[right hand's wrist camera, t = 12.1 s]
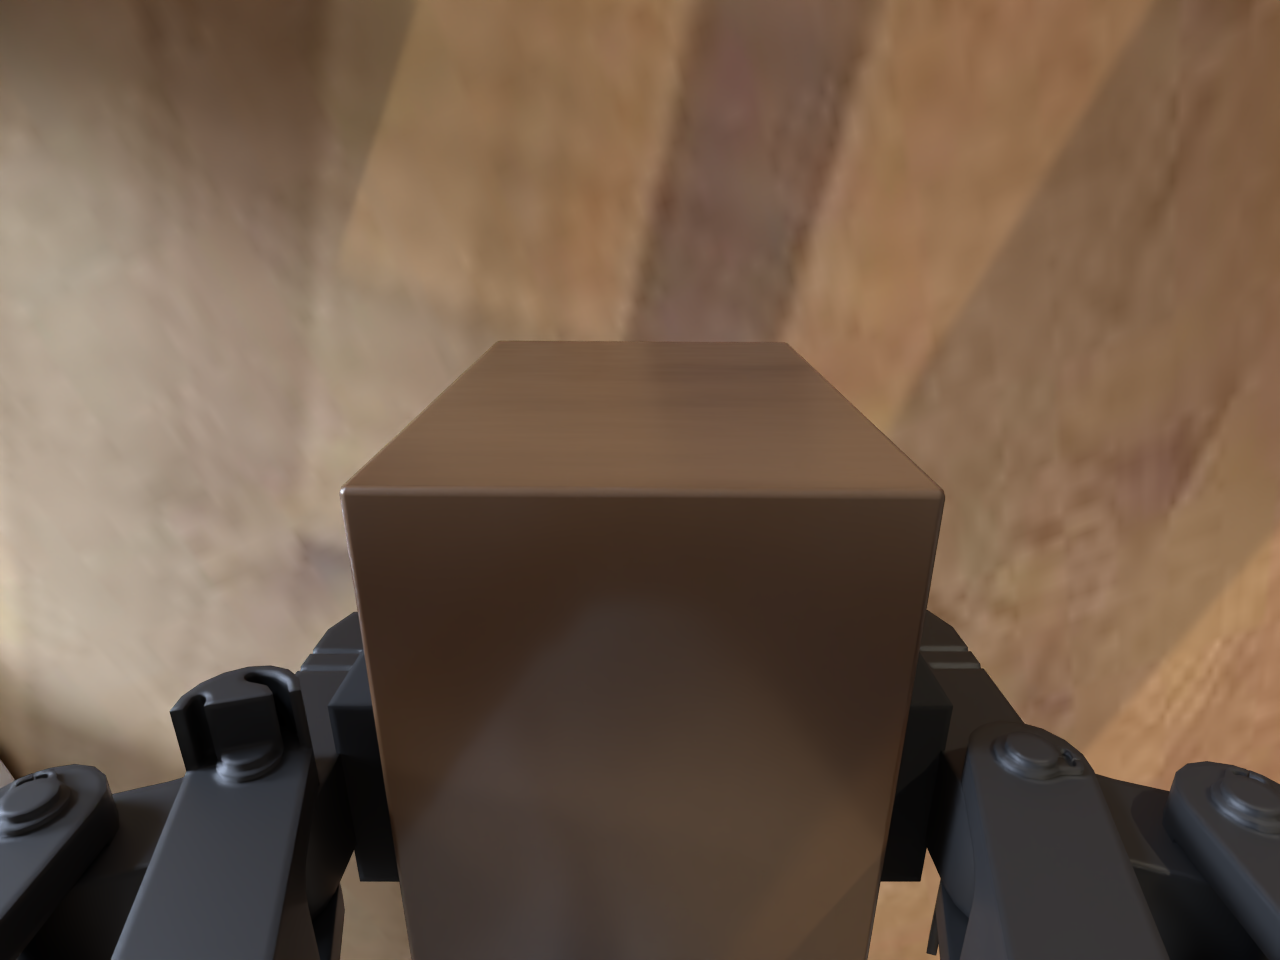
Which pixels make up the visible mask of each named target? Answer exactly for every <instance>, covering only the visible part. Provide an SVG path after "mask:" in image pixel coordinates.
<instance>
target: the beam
mask: <svg viewBox="0 0 1280 960" xmlns="http://www.w3.org/2000/svg"><path fill="white" fill-rule="evenodd" d="M340 500H341V506H342V513H343V519H344V525H345V532H346V538H347V545H348V551H349V558H350V564H351V571H352V577H353V584H354V590H355V597H356V603H357V610H358V616H359V623H360V629H361V635H362V642H363V648H364V655H365V661H366V668H367V674H368V681H369V687H370V694H371V700H372V707H373V713H374V720H375V726H376V733H377V739H378V745H379V752H380V758H381V765H382V771H383V778H384V784H385V791H386V797H387V804H388V810H389V817H390V823H391V830H392V836H393V842H394V849H395V855H396V862H397V868H398V875H399V881H400V888H401V894H402V901H403V907H404V914H405V920H406V927H407V933H408V940H409V946H410V952H411V959H412V960H867V958H868V952H869V946H870V940H871V935H872V929H873V923H874V917H875V911H876V905H877V899H878V893H879V887H880V881H881V875H882V869H883V863H884V857H885V852H886V846H887V840H888V834H889V828H890V822H891V816H892V810H893V804H894V798H895V792H896V786H897V780H898V774H899V769H900V763H901V757H902V751H903V745H904V739H905V733H906V727H907V721H908V715H909V709H910V703H911V697H912V691H913V685H914V680H915V674H916V668H917V662H918V656H919V650H920V644H921V638H922V632H923V626H924V620H925V614H926V608H927V602H928V597H929V591H930V585H931V579H932V573H933V567H934V561H935V555H936V549H937V543H938V537H939V531H940V525H941V519H942V514H943V508H944V502H945V494H944V491H943V489H941V488H940V487H939V486H938V485H937V484H936V483H935V482H934V481H933V480H932V479H931V478H930V477H929V476H928V475H927V474H926V473H924V472H923V471H922V470H921V469H920V468H919V467H918V466H917V465H916V464H915V463H914V462H913V461H912V460H911V459H910V458H909V457H908V456H906V455H905V454H904V453H903V452H902V451H901V450H900V449H899V448H898V447H897V446H896V445H895V444H894V443H893V442H892V441H891V440H889V439H888V438H887V437H886V436H885V435H884V434H883V433H882V432H881V431H880V430H879V429H878V428H877V427H876V426H875V425H874V424H872V423H871V422H870V421H869V420H868V419H867V418H866V417H865V416H864V415H863V414H862V413H861V412H860V411H859V410H858V409H857V408H855V407H854V406H853V405H852V404H851V403H850V402H849V401H848V400H847V399H846V398H845V397H844V396H843V395H842V394H841V393H840V392H839V391H837V390H836V389H835V388H834V387H833V386H832V385H831V384H830V383H829V382H828V381H827V380H826V379H825V378H824V377H823V376H822V375H820V374H819V373H818V372H817V371H816V370H815V369H814V368H813V367H812V366H811V365H810V364H809V363H808V362H807V361H806V360H805V359H803V358H802V357H801V356H800V355H799V354H798V353H797V352H796V351H795V350H794V349H793V348H792V347H791V346H790V345H789V344H787V343H777V342H600V341H498V342H496V343H495V344H494V345H493V346H492V347H491V348H490V349H489V350H488V351H486V352H485V353H484V354H483V355H482V356H481V357H480V358H479V359H478V360H477V361H476V362H475V363H474V364H473V365H471V366H470V367H469V368H468V369H467V370H466V371H465V372H464V373H463V374H462V375H461V376H460V377H459V378H458V379H456V380H455V381H454V382H453V383H452V384H451V385H450V386H449V387H448V388H447V389H446V390H445V391H444V392H443V393H441V394H440V395H439V396H438V397H437V398H436V399H435V400H434V401H433V402H432V403H431V404H430V405H429V406H428V407H426V408H425V409H424V410H423V411H422V412H421V413H420V414H419V415H418V416H417V417H416V418H415V419H414V420H413V421H411V422H410V423H409V424H408V425H407V426H406V427H405V428H404V429H403V430H402V431H401V432H400V433H399V434H398V435H396V436H395V437H394V438H393V439H392V440H391V441H390V442H389V443H388V444H387V445H386V446H385V447H384V448H383V449H381V450H380V451H379V452H378V453H377V454H376V455H375V456H374V457H373V458H372V459H371V460H370V461H369V462H368V463H366V464H365V465H364V466H363V467H362V468H361V469H360V470H359V471H358V472H357V473H356V474H355V475H354V476H353V477H352V478H350V479H349V480H348V481H347V482H346V483H345V484H344V485H343V486H342V487H341V490H340Z"/></svg>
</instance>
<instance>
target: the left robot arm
mask: <svg viewBox="0 0 1280 960" xmlns="http://www.w3.org/2000/svg"><path fill="white" fill-rule="evenodd" d="M13 781H15V780H14V778H13V777H12V775H11V774H10V772H9V771H8V769H7V768H6V767H5V765H4V764H3V763H2V761H1V760H0V788H2V787H4V786H6V785H8V784H10V783H12V782H13Z"/></svg>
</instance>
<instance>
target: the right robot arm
mask: <svg viewBox="0 0 1280 960" xmlns="http://www.w3.org/2000/svg"><path fill="white" fill-rule="evenodd" d="M170 715H171V718H172V722H173V725H174V729H175V732H176V736H177V740H178V743H179V747H180V750H181V754H182V757H183V761H184V764H185V768H186V774H185V776H184V777H183V778H180V779H176V780H173V781H169V782H165V783H160V784H156V785H151V786H147V787H142V788H138V789H133V790H129V791H124V792H120V793H115V794H112V793H111V790H110V787H109V784H108V781H107V778H106V775H105V774H103V773H102V772H101V771H99V770H98V769H97V768H96V767H93V766H85V765H77V764H73V765H66V766H60V767H53V768H48V769H45V770H42V771H38V772H36V773H33V774H29V775H27V776H24V777H21V778H19V779H17V780H15V781H13V782H12V783H10V784H8V785H6V786H4V787H2V788H0V960H340V953H341V943H342V932H343V922H344V912H345V908H344V902H343V895H342V890H341V885H340V880H341V878H342V876H343V874H344V871H345V869H346V867H347V865H348V862H349V860H350V858H351V856H352V853H353V851H355V856H356V862H357V867H358V872H359V878H360V882H400V881H399V875H398V868H397V862H396V855H395V849H394V842H393V836H392V830H391V823H390V817H389V810H388V804H387V797H386V791H385V784H384V778H383V771H382V765H381V758H380V752H379V745H378V739H377V733H376V726H375V720H374V713H373V707H372V700H371V694H370V687H369V681H368V674H367V668H366V661H365V655H364V648H363V642H362V635H361V629H360V623H359V616H358V612H353V613H352V614H350V615H349V616H347V617H346V618H344V619H343V620H341V621H340V622H339V623H337V624H336V625H334V626H333V627H331V628H330V629H328V631H327V632H326V633H325V635H324V636H323V637H322V639H321V640H320V641H319V643H318V644H317V645H316V647H315V648H314V650H313V654H310V655H309V656H308V658H307V659H306V660H305V662H304V663H303V664H302V666H301V670H300V671H297V673H296V674H293V673H292V672H291V671H290V670H289V669H284V668H280V667H275V666H254V667H246V668H242V669H238V670H234V671H229V672H225V673H223V674H220V675H218V676H216V677H214V678H211V679H209V680H207V681H204V682H202V683H200V684H199V685H197V686H196V687H195V688H193V689H192V690H190V691H189V692H187V693H186V694H185V695H183V696H182V697H181V698H180V699H179V700H178V702H177V703H176V704H175V705H174V707H173V708H172V709H171V710H170ZM926 849H928V851H929V853H930V855H931V857H932V860H933V862H934V864H935V866H936V869H937V871H938V873H939V875H940V878H941V880H940V885H939V890H938V895H937V900H936V905H935V910H934V915H933V920H932V925H931V930H930V935H929V940H928V947H927V953H928V954H932V955H936V954H937V949H938V944H939V951H940V960H1280V784H1278V783H1276V782H1274V781H1272V780H1270V779H1268V778H1267V777H1265V776H1263V775H1260V774H1258V773H1255V772H1253V771H1248V770H1246V769H1244V768H1240V767H1237V766H1234V765H1228V764H1222V763H1215V762H1208V761H1205V762H1197V763H1189V764H1186V765H1185V766H1184V767H1182V768H1181V769H1180V770H1178V771H1177V772H1176V774H1175V777H1174V780H1173V783H1172V786H1171V789H1170V791H1165V790H1161V789H1156V788H1152V787H1147V786H1143V785H1138V784H1134V783H1129V782H1125V781H1120V780H1116V779H1112V778H1108V777H1105V776H1101V775H1098V774H1095V772H1094V770H1093V769H1092V767H1091V766H1090V764H1089V763H1088V761H1087V760H1086V758H1085V757H1084V756H1083V754H1082V753H1080V752H1079V751H1078V750H1077V749H1075V748H1074V747H1073V746H1072V745H1070V744H1069V743H1068V742H1067V741H1065V740H1064V739H1062V738H1060V737H1058V736H1056V735H1054V734H1052V733H1050V732H1048V731H1046V730H1044V729H1042V728H1038V727H1034V726H1031V725H1027V724H1024V722H1023V721H1022V720H1021V718H1020V717H1019V716H1018V714H1017V713H1016V712H1015V710H1014V709H1013V708H1012V706H1011V705H1010V704H1009V702H1008V701H1007V700H1006V698H1005V697H1004V695H1003V694H1002V693H1001V691H1000V690H999V689H998V687H997V686H996V685H995V683H994V682H993V681H992V679H991V678H990V677H989V675H988V674H987V673H986V671H985V670H984V669H981V667H980V663H979V662H978V660H977V659H976V658H975V656H974V655H973V654H972V652H971V651H968V647H967V646H966V644H965V643H964V642H963V640H962V639H961V638H960V636H959V635H958V634H957V632H956V631H955V630H954V628H953V627H952V626H950V625H949V624H947V623H946V622H944V621H943V620H941V619H940V618H938V617H937V616H935V615H934V614H933V613H931V612H930V611H928V610H926V614H925V620H924V626H923V632H922V638H921V644H920V650H919V656H918V662H917V668H916V674H915V680H914V685H913V691H912V697H911V703H910V709H909V715H908V721H907V727H906V733H905V739H904V745H903V751H902V757H901V763H900V769H899V774H898V780H897V786H896V792H895V798H894V804H893V810H892V816H891V822H890V828H889V834H888V840H887V846H886V852H885V857H884V863H883V869H882V875H881V881H921V875H922V870H923V865H924V859H925V854H926Z"/></svg>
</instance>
